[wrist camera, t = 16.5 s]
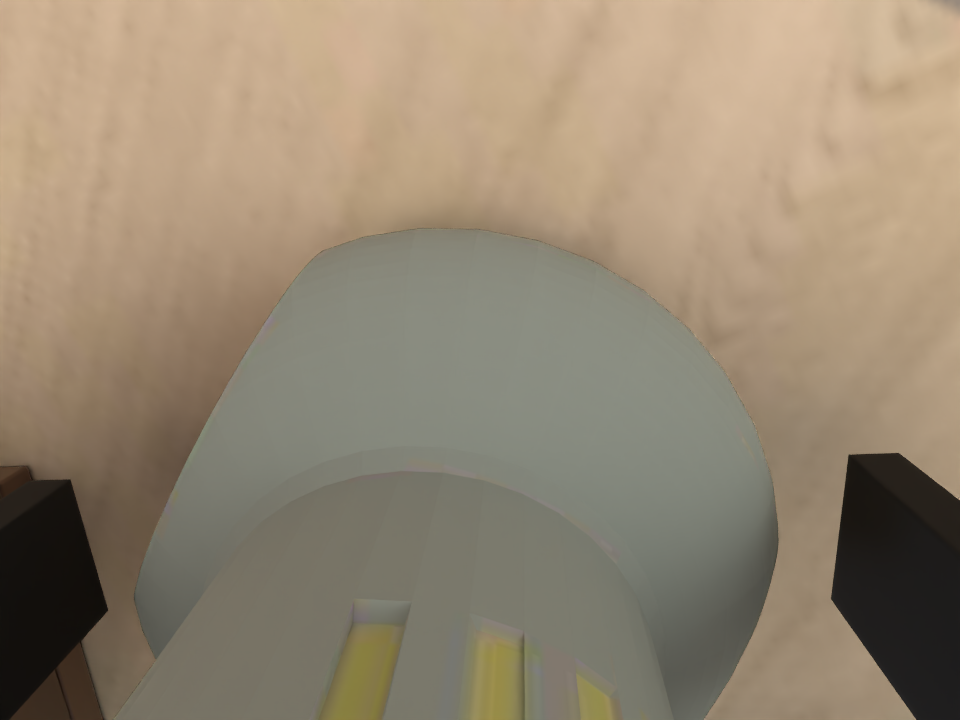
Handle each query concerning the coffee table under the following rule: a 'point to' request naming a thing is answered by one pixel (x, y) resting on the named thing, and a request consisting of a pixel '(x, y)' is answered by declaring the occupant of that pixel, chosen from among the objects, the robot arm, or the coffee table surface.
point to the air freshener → (460, 502)
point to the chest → (68, 690)
